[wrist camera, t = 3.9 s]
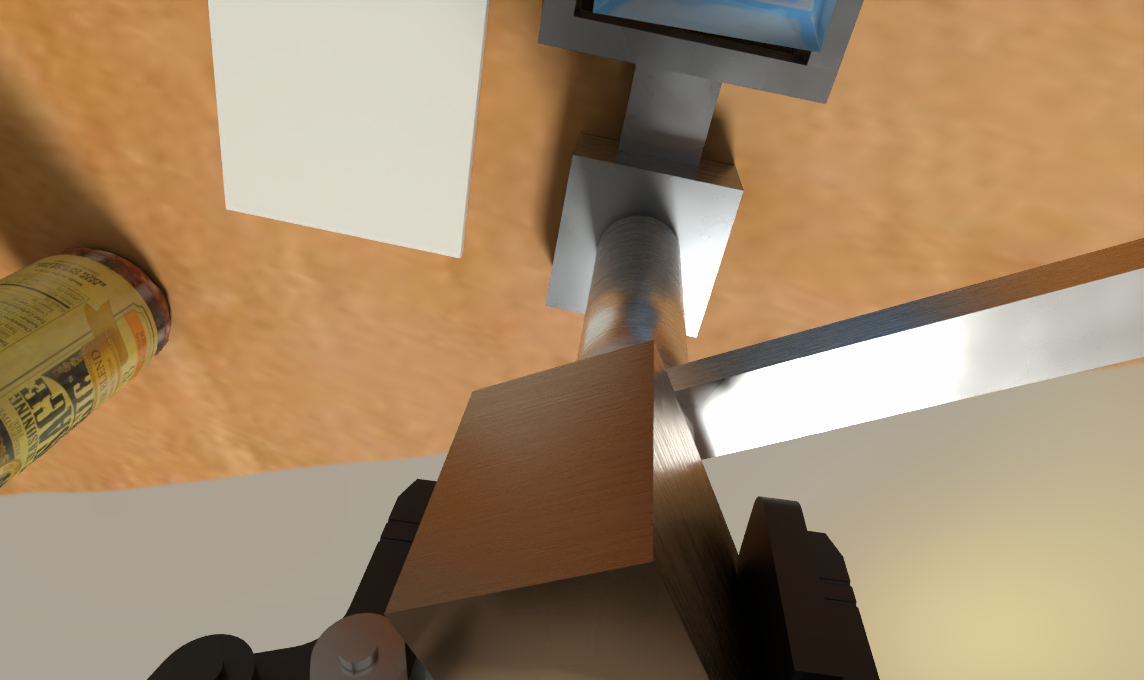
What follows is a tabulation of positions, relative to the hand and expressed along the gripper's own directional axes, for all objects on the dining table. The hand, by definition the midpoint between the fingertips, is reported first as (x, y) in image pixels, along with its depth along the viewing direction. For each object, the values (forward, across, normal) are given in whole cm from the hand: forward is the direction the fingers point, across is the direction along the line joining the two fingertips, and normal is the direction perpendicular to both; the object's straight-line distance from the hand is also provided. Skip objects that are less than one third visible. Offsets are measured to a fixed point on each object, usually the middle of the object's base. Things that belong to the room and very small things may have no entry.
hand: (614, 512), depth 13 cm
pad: (+17, +11, -4) cm, 21 cm away
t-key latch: (+13, -5, -2) cm, 14 cm away
